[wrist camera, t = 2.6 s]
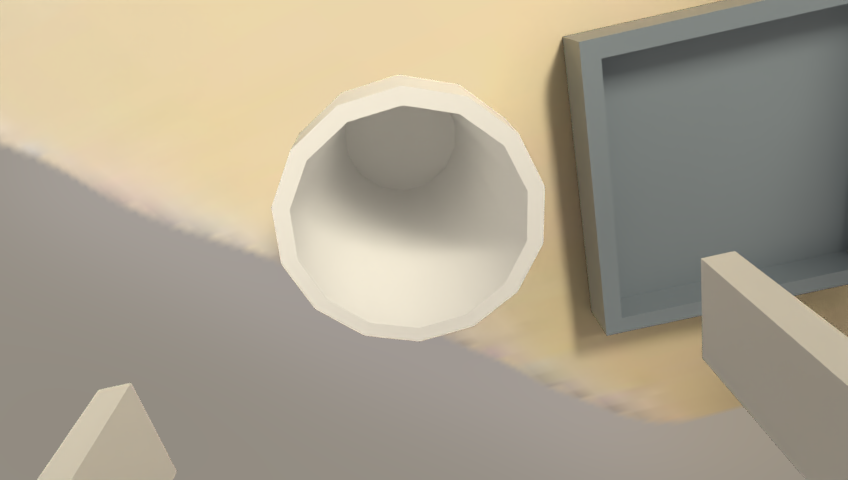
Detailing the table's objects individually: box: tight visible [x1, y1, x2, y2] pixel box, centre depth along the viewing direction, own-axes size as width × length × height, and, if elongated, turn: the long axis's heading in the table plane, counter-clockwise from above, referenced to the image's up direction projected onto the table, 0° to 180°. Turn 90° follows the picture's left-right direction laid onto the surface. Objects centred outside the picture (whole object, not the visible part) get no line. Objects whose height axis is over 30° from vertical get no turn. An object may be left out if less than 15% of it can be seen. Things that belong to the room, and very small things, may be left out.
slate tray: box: [563, 0, 848, 336], centre depth 33 cm, size 17×17×3 cm
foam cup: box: [271, 75, 545, 342], centre depth 26 cm, size 10×9×13 cm
